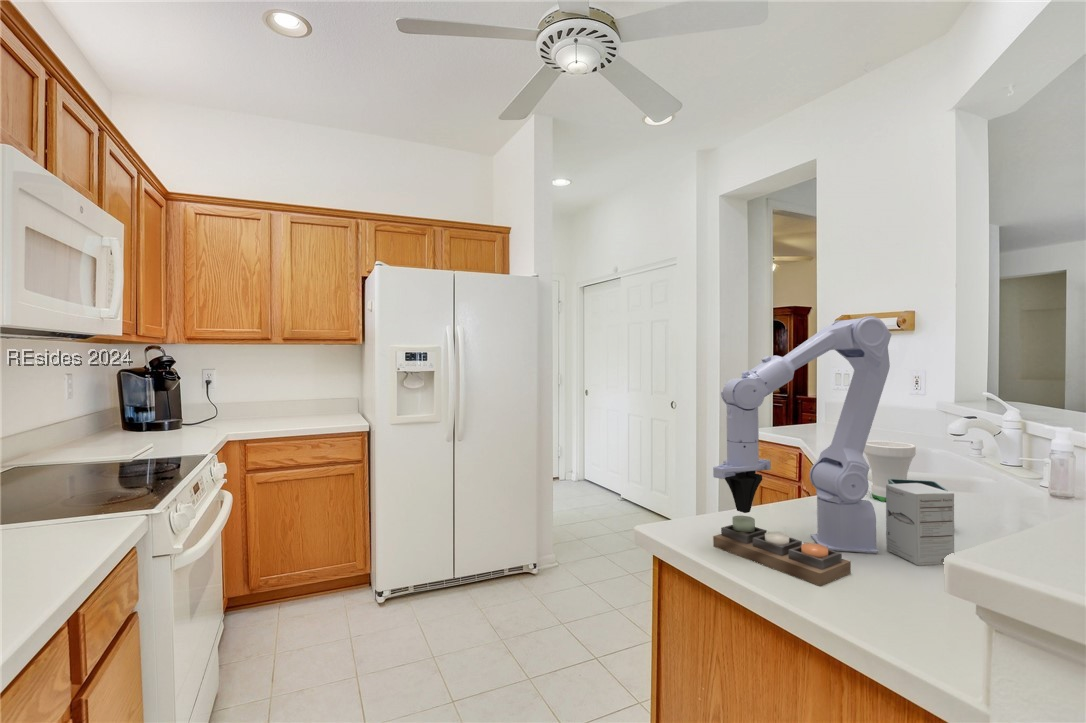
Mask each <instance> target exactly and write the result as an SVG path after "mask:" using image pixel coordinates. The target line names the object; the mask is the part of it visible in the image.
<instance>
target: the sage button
mask: <svg viewBox="0 0 1086 723" xmlns="http://www.w3.org/2000/svg"><path fill="white" fill-rule="evenodd" d="M732 525H733V529H734V530H736V531H739V532H754V531H755V527H756V519H755V518H754V517H751V516H750V515H749V516H748V515H734V516H732Z"/></svg>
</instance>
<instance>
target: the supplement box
mask: <svg viewBox="0 0 1086 723" xmlns="http://www.w3.org/2000/svg"><path fill="white" fill-rule="evenodd" d="M885 503H886V504H885V514H886V515H885V516H886V517H885V518H886V520H885V525H886V526H885V528H886V531H885V532H886V535H885V536H886V538H885V539H886V540H885V541H886V551H887V552H890V553H892V554H894V555H896V556H898V557H900V558H902V559H905V560H906V561H908V562H910V563H912V564H914V565H916V566H938V565H939V564H940V565H944V564H943V562H944V558H945V557H946V556H947V555H949V554H951V553H954V554H955V493H954V492H952V491H949V490H948V491H945V490H941V489H938V488H935V487H931V486H928V485H924V484H921V483H903V484H886V501H885Z"/></svg>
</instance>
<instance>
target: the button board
mask: <svg viewBox="0 0 1086 723" xmlns="http://www.w3.org/2000/svg"><path fill="white" fill-rule="evenodd" d="M720 529H721V531H720V533H719V534H716V535H713V536H712V538H713V540H712V544H713V547H714V548H716V549H719V550H721V551H725V552H728V553H729V554H733V555H736V556H738V557H740V558H744V559H746V560H749V561H751V560H752V561H751V562H754V561H755V562H754V563H757V562H758V563H757V564H759V563H760V564H759V565H762V564H763V566H765V565H766V566H765V567H767V566H768V568H770V567H771V569H773V568H774V569H773V570H776V571H778V572H780V573H781V572H782V573H784V574H786V575H789V576H792V577H794V576H795V578H797V579H800V580H802V579H803V581H805V580H806V582H808V581H809V583H810V582H812V583H811V584H813V583H814V584H813V585H816V584H817V585H816V586H818V585H819V587H821V585H822V586H824V585H826V583H827V584H828V583H831V582H833V580H834V581H835V579H836V580H839V579H841V578H843V577H845V575H846V576H848V575H851V574H852V572H851V571H852V569H851V567H852V565H851V560H848V559H844V558H843V554H842V553H841V552H840V551H837V550H829V549H828V556H826V557H824V558H821V559H820V558H817V557H814V556H811V555H807V554H804V553H802V552H801V545H802V544H803V543H802V540H800V539H796V538H793V537H790V536H789V543H788V544H785V545H782V546H780V545H777V544H774V543H771V542H768V541H765V533H767V532H768V530H767V529H763V528H761V527H757V526H755V531H754V532H739V531H736V530H734V529H733V524H730V525H727V526H722V527H721V528H720ZM840 577H841V578H840Z"/></svg>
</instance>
